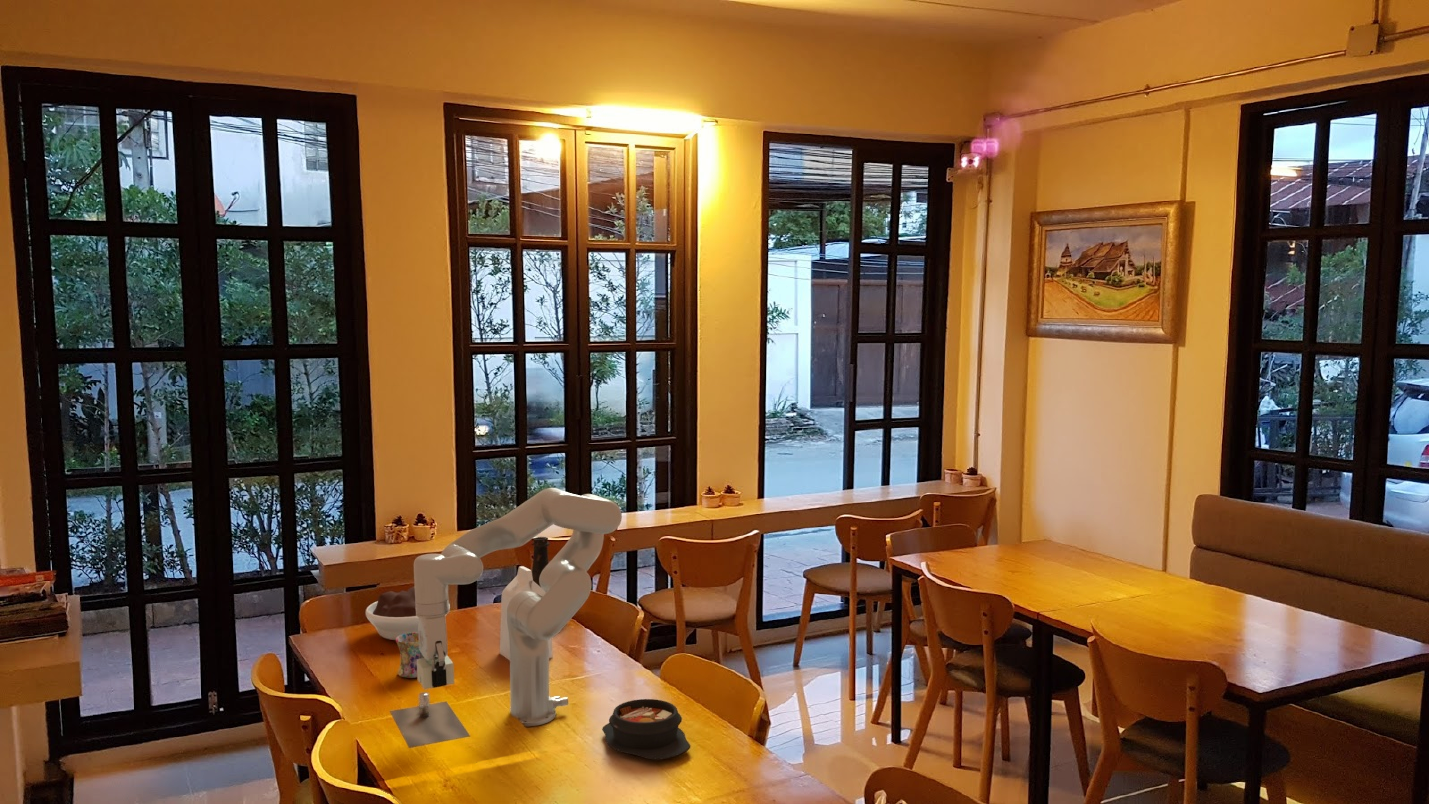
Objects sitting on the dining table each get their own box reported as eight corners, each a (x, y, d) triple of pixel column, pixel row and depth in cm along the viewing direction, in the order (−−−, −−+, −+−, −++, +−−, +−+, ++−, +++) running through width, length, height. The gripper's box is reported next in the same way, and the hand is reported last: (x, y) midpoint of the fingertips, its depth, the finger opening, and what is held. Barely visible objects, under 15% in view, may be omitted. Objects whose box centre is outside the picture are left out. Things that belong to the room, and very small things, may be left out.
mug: (437, 674, 286) (436, 637, 285) (407, 683, 279) (406, 645, 278) (415, 664, 294) (414, 627, 293) (385, 672, 287) (384, 635, 286)
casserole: (583, 737, 244) (583, 703, 244) (649, 718, 256) (649, 686, 255) (641, 775, 225) (641, 738, 224) (709, 753, 236) (709, 718, 235)
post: (426, 710, 256) (426, 689, 256) (430, 716, 252) (430, 695, 252) (416, 712, 255) (416, 690, 255) (420, 718, 251) (420, 696, 251)
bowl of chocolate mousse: (437, 649, 307) (436, 600, 305) (354, 648, 307) (352, 599, 306) (459, 624, 331) (458, 578, 330) (382, 623, 332) (381, 577, 330)
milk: (553, 657, 300) (552, 570, 298) (516, 665, 294) (514, 575, 291) (535, 646, 310) (534, 561, 308) (499, 653, 303) (498, 567, 301)
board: (446, 707, 262) (446, 701, 262) (470, 742, 241) (470, 736, 241) (389, 717, 256) (389, 711, 256) (409, 753, 235) (409, 747, 234)
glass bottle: (543, 635, 321) (542, 546, 318) (502, 625, 330) (501, 539, 328) (581, 620, 335) (580, 536, 333) (540, 611, 345) (539, 529, 343)
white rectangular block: (447, 674, 247) (446, 654, 246) (454, 683, 241) (453, 663, 240) (417, 679, 244) (416, 659, 243) (423, 689, 238) (422, 668, 237)
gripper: (408, 600, 246) (412, 672, 248) (424, 620, 231) (427, 696, 233) (440, 595, 250) (443, 666, 252) (457, 614, 234) (460, 690, 236)
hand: (435, 680), depth 242 cm, fingers closed on white rectangular block, 7 cm apart
